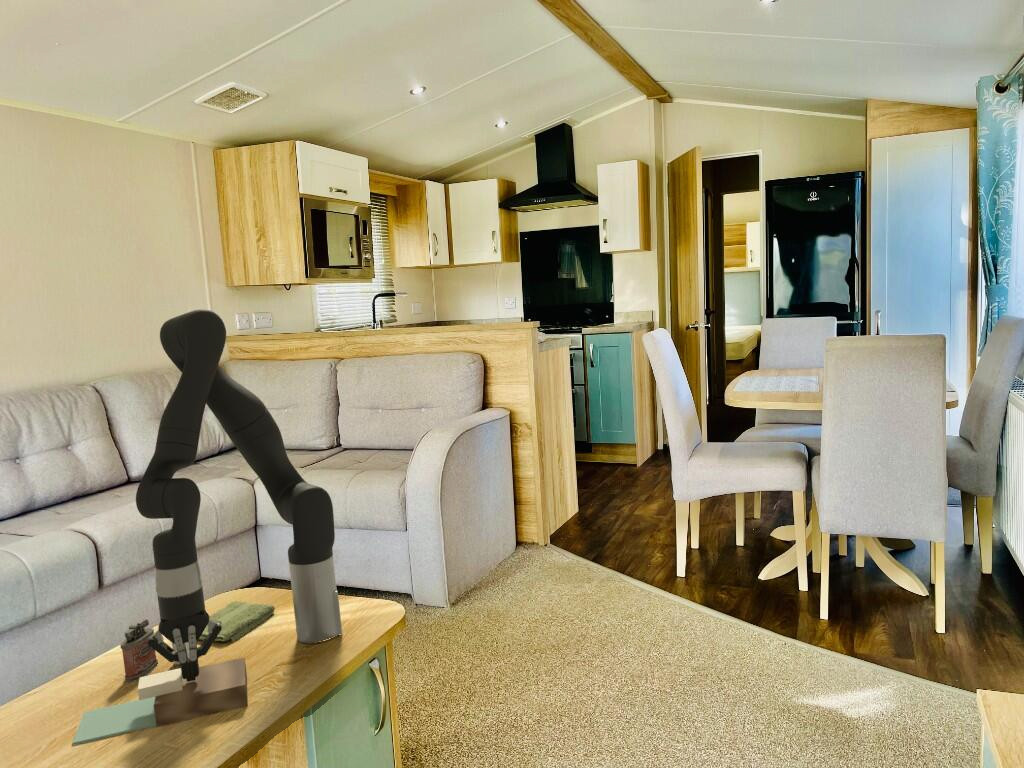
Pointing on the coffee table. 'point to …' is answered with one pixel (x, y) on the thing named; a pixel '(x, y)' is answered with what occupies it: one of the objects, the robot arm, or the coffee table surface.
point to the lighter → (138, 651)
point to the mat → (116, 720)
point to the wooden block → (205, 693)
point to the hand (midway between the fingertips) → (191, 679)
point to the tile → (160, 684)
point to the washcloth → (238, 619)
